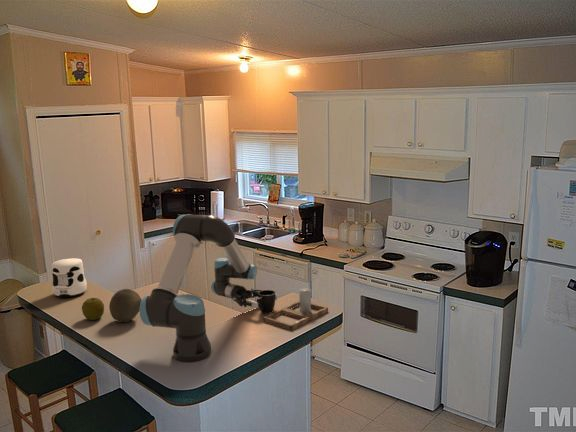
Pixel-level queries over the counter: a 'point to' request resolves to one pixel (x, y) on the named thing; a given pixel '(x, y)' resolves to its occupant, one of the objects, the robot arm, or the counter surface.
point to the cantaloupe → (125, 305)
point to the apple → (93, 308)
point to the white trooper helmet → (68, 277)
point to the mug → (266, 300)
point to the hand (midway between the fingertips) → (267, 301)
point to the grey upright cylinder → (305, 300)
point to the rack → (300, 315)
